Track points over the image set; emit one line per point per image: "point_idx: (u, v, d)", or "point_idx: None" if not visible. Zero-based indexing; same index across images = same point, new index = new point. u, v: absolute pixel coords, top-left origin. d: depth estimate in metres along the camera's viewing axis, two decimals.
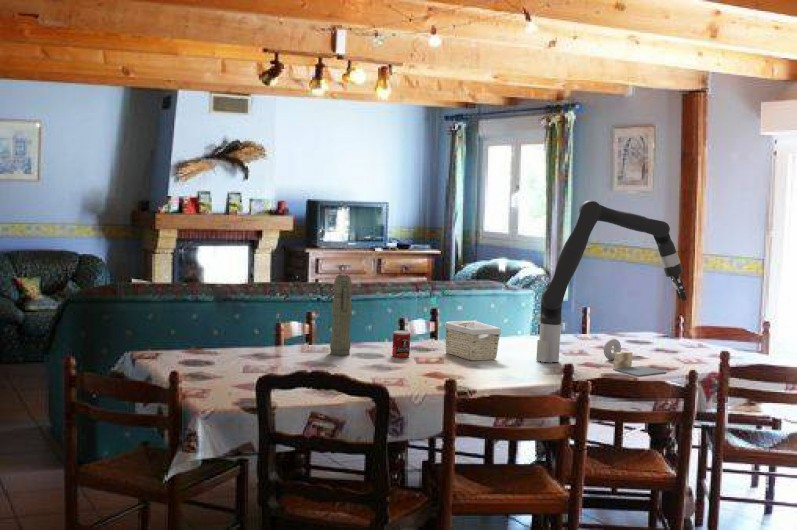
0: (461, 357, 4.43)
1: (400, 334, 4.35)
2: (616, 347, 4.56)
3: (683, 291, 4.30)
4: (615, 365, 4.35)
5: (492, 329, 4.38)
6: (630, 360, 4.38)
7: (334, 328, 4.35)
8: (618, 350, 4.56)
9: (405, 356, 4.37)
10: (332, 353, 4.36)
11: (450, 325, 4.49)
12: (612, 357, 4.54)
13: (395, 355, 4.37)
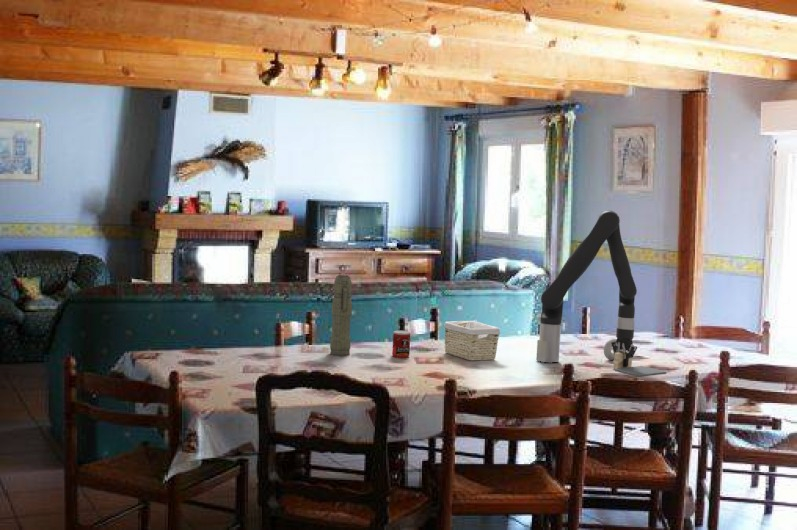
0: (460, 357, 4.43)
1: (400, 334, 4.35)
2: None
3: (629, 357, 4.34)
4: (615, 365, 4.35)
5: (491, 329, 4.38)
6: (630, 360, 4.38)
7: (334, 328, 4.35)
8: None
9: (405, 356, 4.37)
10: (332, 353, 4.36)
11: (449, 325, 4.49)
12: (612, 357, 4.54)
13: (395, 355, 4.37)
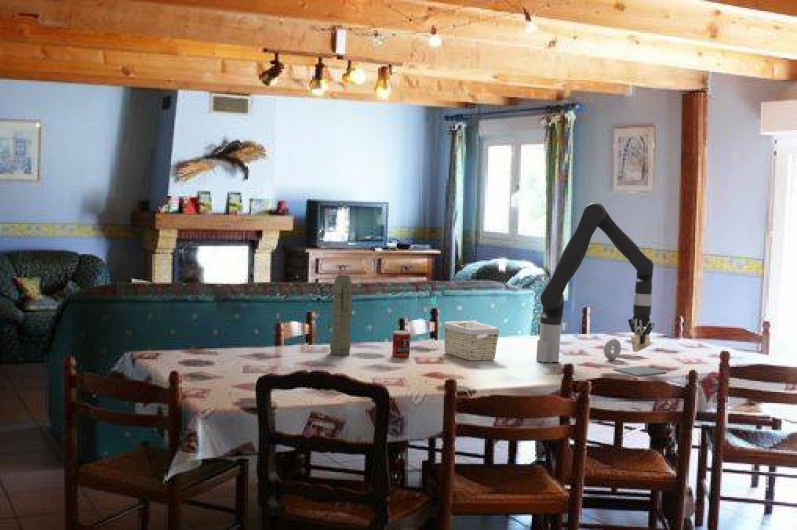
0: (460, 357, 4.42)
1: (400, 334, 4.35)
2: (616, 347, 4.56)
3: (646, 334, 4.29)
4: (634, 348, 4.30)
5: (490, 329, 4.38)
6: (648, 338, 4.33)
7: (334, 328, 4.35)
8: (618, 350, 4.56)
9: (405, 356, 4.37)
10: (332, 353, 4.36)
11: (448, 325, 4.49)
12: (612, 357, 4.54)
13: (395, 355, 4.37)
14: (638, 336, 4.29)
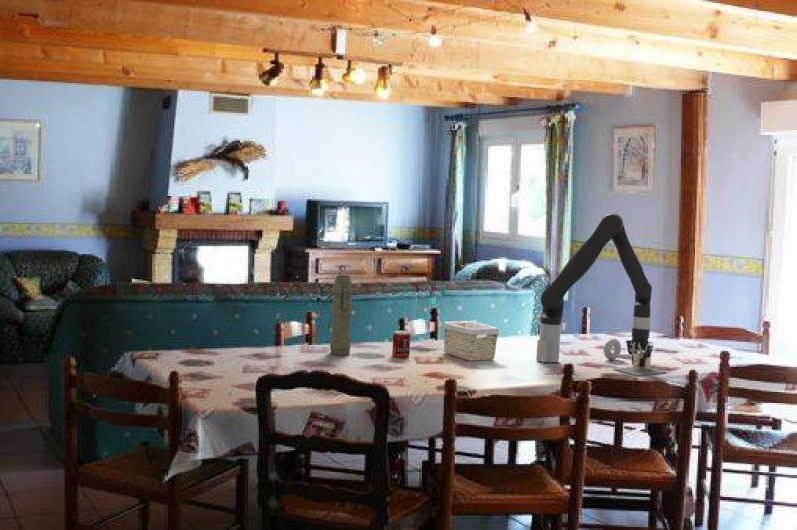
0: (459, 357, 4.42)
1: (400, 334, 4.35)
2: (616, 347, 4.56)
3: (646, 357, 4.29)
4: (634, 366, 4.31)
5: (490, 329, 4.38)
6: (649, 361, 4.34)
7: (334, 328, 4.35)
8: (618, 350, 4.56)
9: (405, 356, 4.37)
10: (332, 353, 4.36)
11: (448, 325, 4.49)
12: (612, 357, 4.54)
13: (395, 355, 4.37)
14: (640, 355, 4.31)
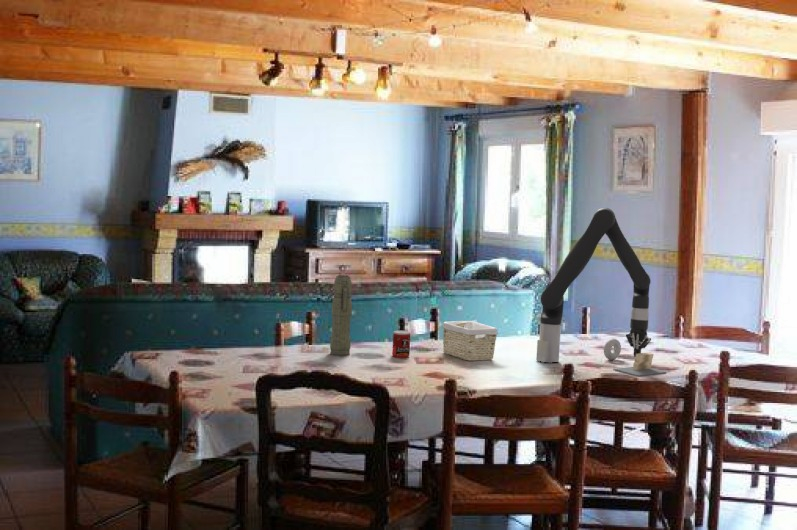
0: (458, 357, 4.42)
1: (400, 334, 4.35)
2: (616, 347, 4.56)
3: None
4: (634, 366, 4.30)
5: (489, 329, 4.37)
6: (650, 361, 4.34)
7: (334, 328, 4.35)
8: (618, 350, 4.56)
9: (405, 356, 4.37)
10: (332, 353, 4.36)
11: (447, 325, 4.48)
12: (612, 357, 4.54)
13: (395, 355, 4.37)
14: (643, 356, 4.30)
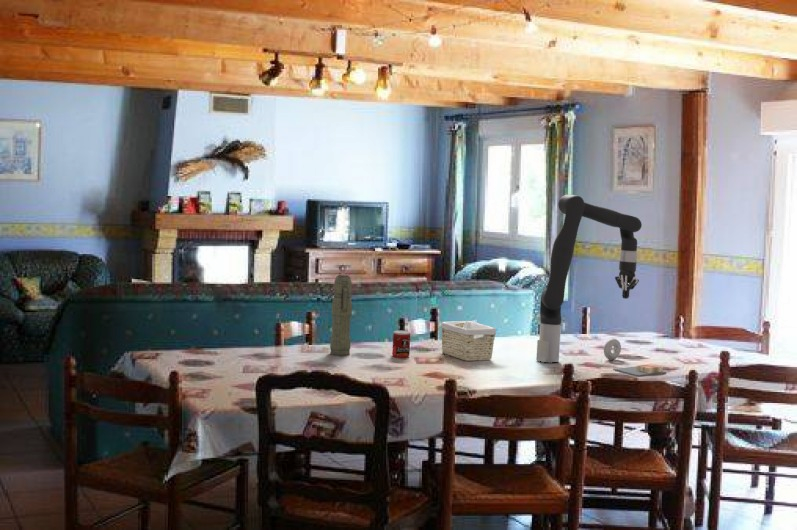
0: (456, 357, 4.42)
1: (400, 334, 4.35)
2: (616, 347, 4.56)
3: (630, 289, 4.49)
4: (638, 368, 4.29)
5: (487, 329, 4.37)
6: None
7: (334, 328, 4.35)
8: (618, 350, 4.56)
9: (405, 356, 4.37)
10: (332, 353, 4.36)
11: (446, 325, 4.48)
12: (612, 357, 4.54)
13: (395, 355, 4.37)
14: None
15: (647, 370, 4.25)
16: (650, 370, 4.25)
